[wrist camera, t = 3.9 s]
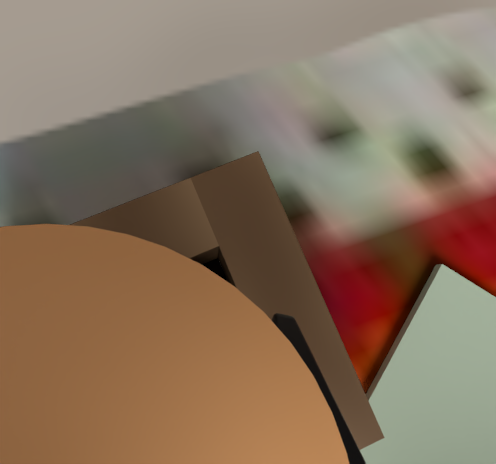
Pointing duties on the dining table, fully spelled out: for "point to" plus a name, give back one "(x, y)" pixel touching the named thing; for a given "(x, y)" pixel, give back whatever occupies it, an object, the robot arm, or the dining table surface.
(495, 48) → the dining table surface
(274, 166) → the dining table surface
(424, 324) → the mat
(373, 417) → the socket block
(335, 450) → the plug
